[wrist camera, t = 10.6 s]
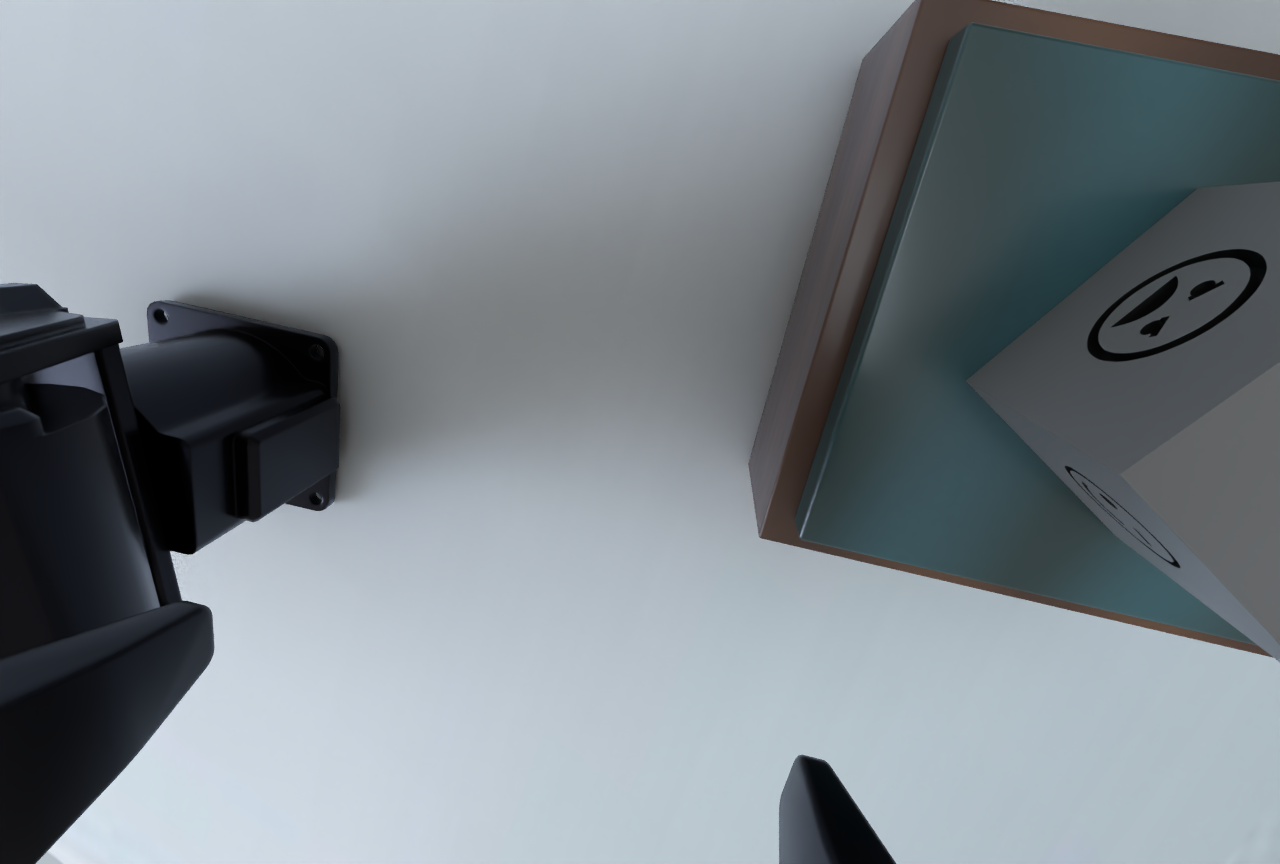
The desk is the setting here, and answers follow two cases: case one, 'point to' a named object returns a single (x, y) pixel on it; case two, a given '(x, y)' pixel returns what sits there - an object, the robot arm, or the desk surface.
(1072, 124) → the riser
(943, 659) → the desk surface
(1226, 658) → the desk surface
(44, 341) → the robot arm
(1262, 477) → the dice cube
